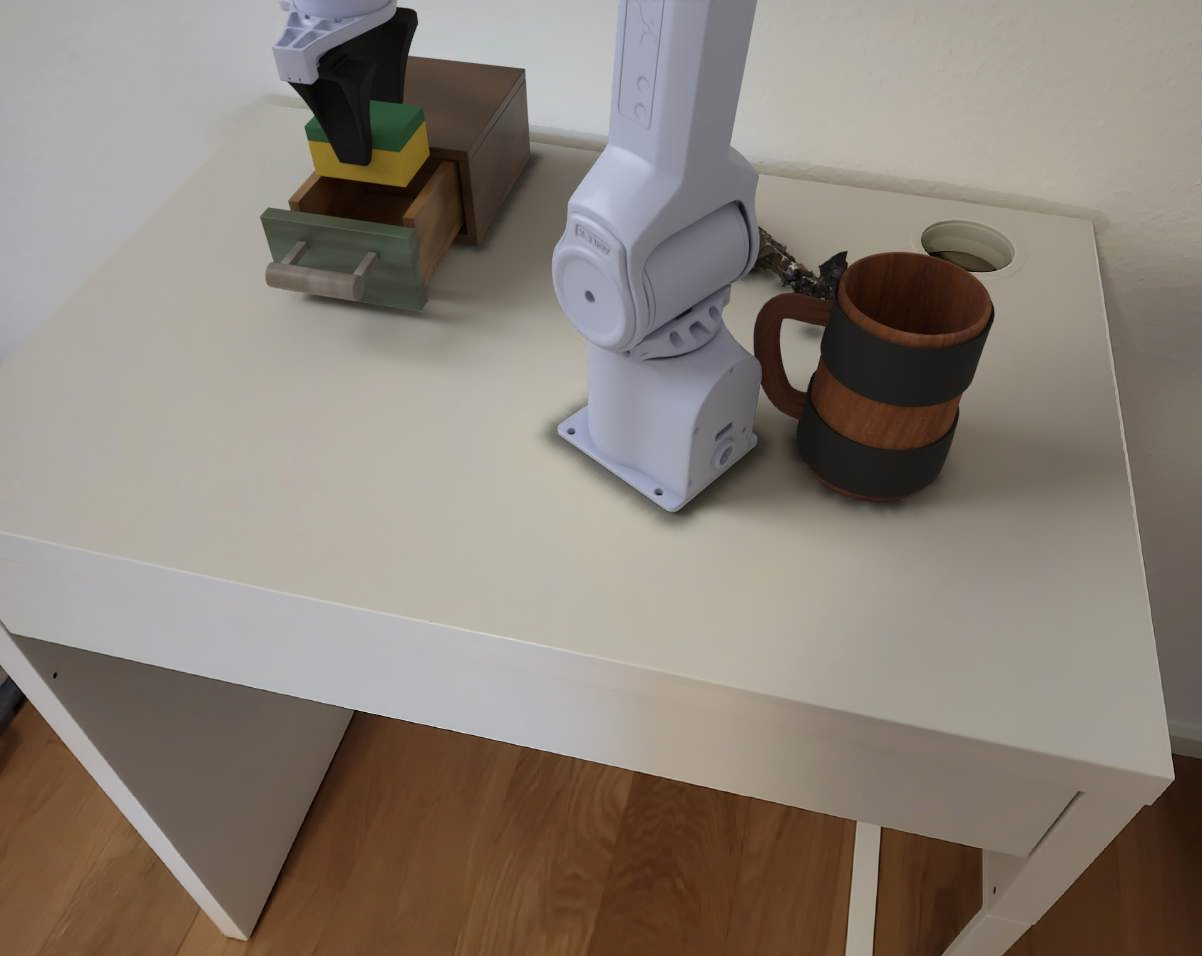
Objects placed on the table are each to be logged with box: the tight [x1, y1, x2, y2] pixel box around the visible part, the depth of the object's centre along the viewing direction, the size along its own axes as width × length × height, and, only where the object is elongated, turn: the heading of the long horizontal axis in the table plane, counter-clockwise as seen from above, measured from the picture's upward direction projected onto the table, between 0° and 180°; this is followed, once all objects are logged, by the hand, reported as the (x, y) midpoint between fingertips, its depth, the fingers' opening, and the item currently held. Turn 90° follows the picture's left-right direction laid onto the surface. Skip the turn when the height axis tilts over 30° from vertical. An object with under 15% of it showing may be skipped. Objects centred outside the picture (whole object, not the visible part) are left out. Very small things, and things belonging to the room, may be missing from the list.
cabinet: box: [403, 55, 531, 246], centre depth 72 cm, size 14×12×8 cm
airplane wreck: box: [749, 225, 849, 300], centre depth 65 cm, size 6×18×6 cm, turn 36°
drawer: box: [259, 157, 466, 312], centre depth 64 cm, size 17×10×6 cm, turn 166°
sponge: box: [303, 100, 430, 187], centre depth 62 cm, size 4×6×4 cm
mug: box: [752, 251, 996, 502], centre depth 51 cm, size 9×12×12 cm
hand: (371, 143), depth 62 cm, fingers closed on sponge, 4 cm apart
